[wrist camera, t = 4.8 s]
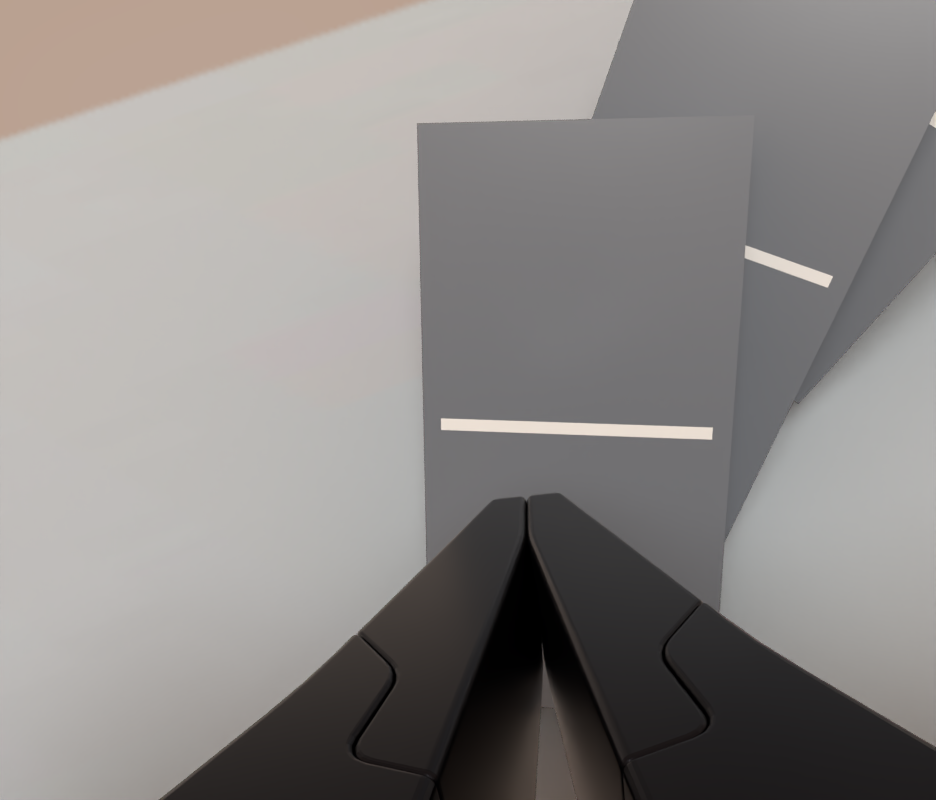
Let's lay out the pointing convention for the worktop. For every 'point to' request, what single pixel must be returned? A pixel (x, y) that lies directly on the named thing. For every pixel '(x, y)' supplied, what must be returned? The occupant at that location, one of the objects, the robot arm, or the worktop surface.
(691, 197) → the domino
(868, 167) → the domino
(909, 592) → the worktop surface
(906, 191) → the domino
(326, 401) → the worktop surface
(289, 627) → the worktop surface
